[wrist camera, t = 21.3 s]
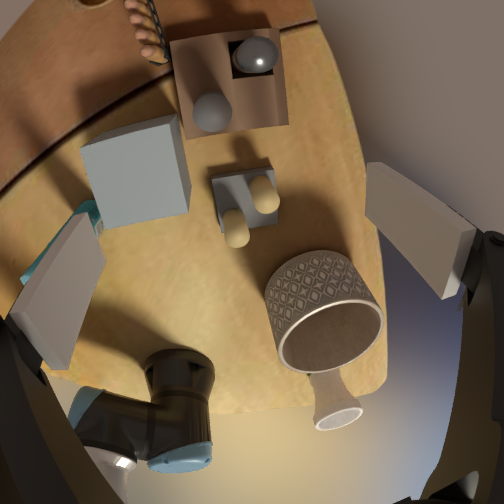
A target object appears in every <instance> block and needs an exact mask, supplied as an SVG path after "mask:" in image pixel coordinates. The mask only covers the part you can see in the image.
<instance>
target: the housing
mask: <svg viewBox="0 0 504 504" xmlns="http://www.w3.org/2000/svg"><path fill="white" fill-rule="evenodd" d="M79 149H80V152H81V156H82V159H83V163H84V166H85V169H86V173H87V176H88V179H89V182H90V185H91V189H92V192H93V195H94V198H95V201H96V203H97V206H98V209H99V212H100V215H101V218H102V220H103V223H104V226H105V228H106V230H107V229H111V228H116V227H121V226H125V225H130V224H135V223H140V222H144V221H149V220H154V219H159V218H164V217H170V216H175V215H180V214H185V213H188V212H189V203H190V195H191V187H192V186H191V181H190V176H189V171H188V167H187V162H186V157H185V152H184V146H183V141H182V136H181V131H180V126H179V120H178V115H177V114H172V115H167V116H163V117H159V118H154V119H150V120H146V121H142V122H138V123H134V124H131V125H127V126H123V127H120V128H116V129H113V130H109V131H106V132H103V133H101V134H100V135H98V136H97V137H95V138H94V139H92V140H91V141H89V142H88V143H86V144H85V145H83V146H82V147H81V148H79Z"/></svg>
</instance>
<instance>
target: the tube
mask: <svg viewBox="0 0 504 504" xmlns="http://www.w3.org/2000/svg"><path fill="white" fill-rule="evenodd" d="M85 212H87V213H88V216H89V218H90V221H91V224H92V227H93V229H94V232H95V234H96V237H97V239H98V238H99V237H100V235H101V233H102V231H103V229H104V227H105V226H104V223H103V220H102V218H101V215H100V212H99V209H98V206H97V203H96V201H95V200H86V201H84V202H83V203H81V205H80V206H79V207H78V208H77V209H76V211H75V212H74V213H73V214H72V216H71V217H70V218H69V219H68V221H67V222H66V223H65V224H64V225H63V227H62V228H61V229H60V230H59V232H58V233H57V234H56V235H55V237H54V238H53V239H52V240H51V242H50V243H49V244H48V245H47V247H46V248H45V249H44V250H43V251H42V253H41V254H40V255H39V256H38V258H37V259H36V260H35V261H34V262H33V264H32V265H31V266H30V267H29V268H28V269H27V270H26V271H25V272H24V274H23V275H22V276H21V277H20V280H21V281H22V283H23V285H25V283H26V282H27V281H28V280H29V278H30V277H31V275H32V274H33V272H34V271H35V269H36V267H37V266H38V264H39V263H40V261H41V260H42V258H43V257H44V255H45V254H46V253H47V251H48V250H49V248H50V247H51V245H52V244H53V243H54V241H55V240H56V238H57V237H58V236H59V234H60V233H61V232H62V230H63V229H64V228H65V226H66V225H67V224H68V222H69V221H70V220H71V218H72V217H73V216H74V215H77V214H81V213H85Z"/></svg>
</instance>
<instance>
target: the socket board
mask: <svg viewBox="0 0 504 504" xmlns="http://www.w3.org/2000/svg"><path fill="white" fill-rule="evenodd" d="M254 36H262V37H266V38H268V39H270V40H271V41H272V42H274V44H275V45H276V46H277V49H278V52H279V57H278V61H277V63H276V65H275V66H274V67H273V68H272V69H270V70H269V71H268V73H269V75H262V76H252V77H243V78H235V79H233V78H232V70H231V63H230V56H229V48H228V44H233V43H242V42H244V41H245V40H246V39H248V38H250V37H254ZM170 48H171V55H172V61H173V67H174V74H175V80H176V86H177V91H178V97H179V103H180V109H181V114H182V120H183V125H184V131H185V136H186V140H188V139H193V138H199V137H204V136H210V135H216V134H222V133H228V132H234V131H241V130H248V129H256V128H264V127H272V126H282V125H289V121H288V109H287V98H286V88H285V78H284V69H283V59H282V51H281V42H280V34H279V28H267V29H252V30H241V31H232V32H223V33H216V34H209V35H203V36H197V37H191V38H186V39H181V40H176V41H171V42H170Z"/></svg>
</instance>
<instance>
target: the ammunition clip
mask: <svg viewBox="0 0 504 504" xmlns="http://www.w3.org/2000/svg"><path fill="white" fill-rule="evenodd" d="M124 5H125V7H126V9H127V10H128V11H129V12H130V14H131V15H130V17H129V20H130V22H131V24H132V25H134V27H135V28H136V31H135V33H134V35H135V38H136V39H137V40H139V42H140V43H141V44H142V45H144V46H143V47H141V49H140V53H141V55H142V56H144V57H145V58H146V59H148V60H149V62H150V63H152V64H155V65H158V66H160V65H163V64H165V63H168V62H171V61H172V57H171V54H170V51H169V48H168V45H167V42H166V39H165V36H164V33H163V30H162V27H161V24H160V21H159V18H158V15H157V12H156V9H155V6H154V3H153V0H125V1H124Z"/></svg>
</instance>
